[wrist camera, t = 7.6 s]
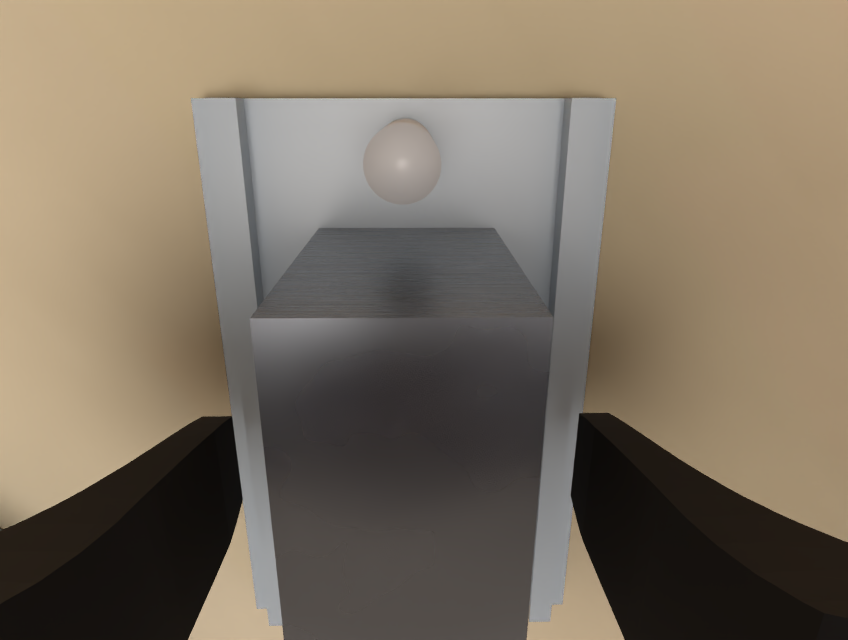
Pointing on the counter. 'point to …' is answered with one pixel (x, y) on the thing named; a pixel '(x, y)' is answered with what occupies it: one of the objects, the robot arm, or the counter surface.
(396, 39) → the counter surface
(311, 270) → the block
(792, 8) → the counter surface
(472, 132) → the tray
